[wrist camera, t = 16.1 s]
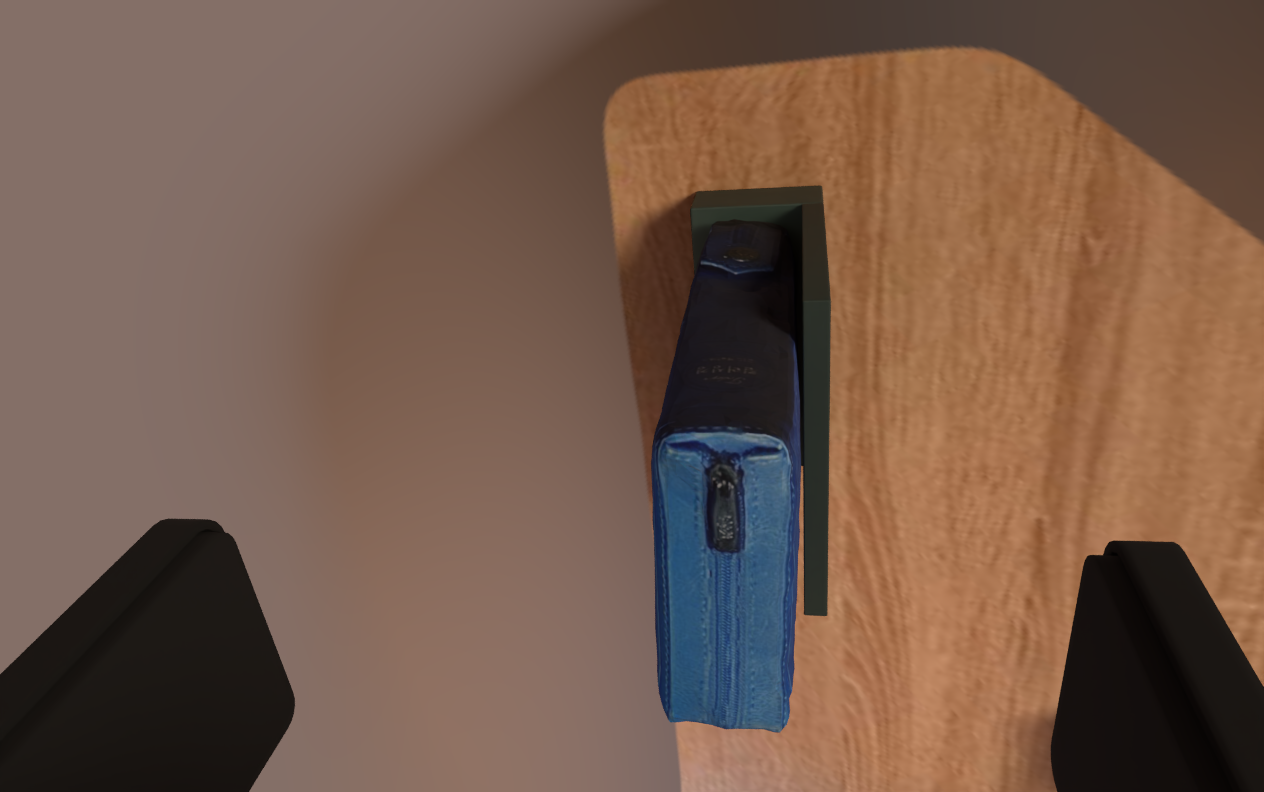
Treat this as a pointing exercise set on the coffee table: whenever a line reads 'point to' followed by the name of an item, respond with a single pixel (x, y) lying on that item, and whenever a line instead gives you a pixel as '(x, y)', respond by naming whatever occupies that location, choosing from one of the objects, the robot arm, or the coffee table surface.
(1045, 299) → the coffee table surface
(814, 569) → the green l-shaped stand
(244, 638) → the robot arm
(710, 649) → the blue zipper case
